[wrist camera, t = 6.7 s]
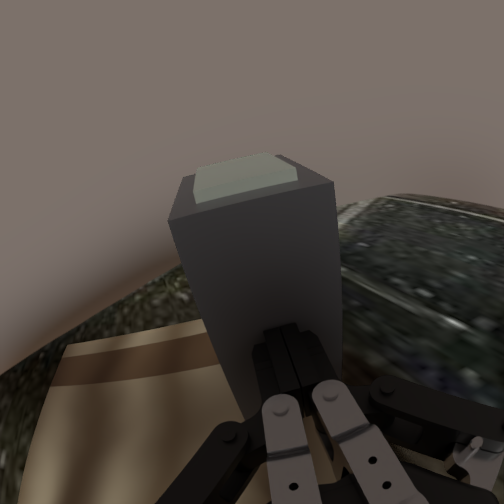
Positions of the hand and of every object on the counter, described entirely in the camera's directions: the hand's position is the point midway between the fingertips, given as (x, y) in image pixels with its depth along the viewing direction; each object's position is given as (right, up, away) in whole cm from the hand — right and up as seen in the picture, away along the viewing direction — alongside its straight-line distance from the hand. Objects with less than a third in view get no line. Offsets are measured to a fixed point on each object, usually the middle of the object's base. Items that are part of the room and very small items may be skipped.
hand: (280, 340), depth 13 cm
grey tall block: (+1, -4, +6) cm, 8 cm away
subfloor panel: (-7, -8, +4) cm, 12 cm away
